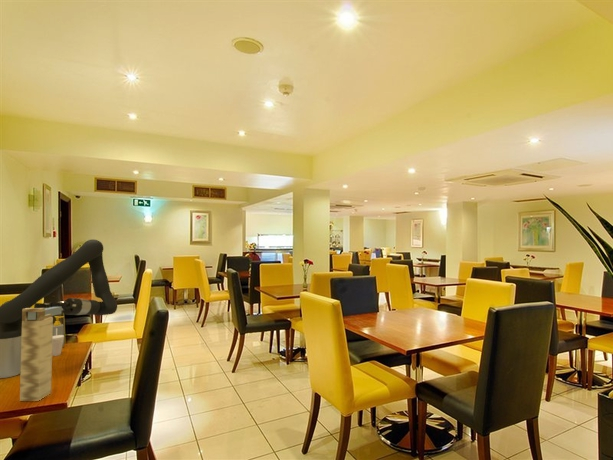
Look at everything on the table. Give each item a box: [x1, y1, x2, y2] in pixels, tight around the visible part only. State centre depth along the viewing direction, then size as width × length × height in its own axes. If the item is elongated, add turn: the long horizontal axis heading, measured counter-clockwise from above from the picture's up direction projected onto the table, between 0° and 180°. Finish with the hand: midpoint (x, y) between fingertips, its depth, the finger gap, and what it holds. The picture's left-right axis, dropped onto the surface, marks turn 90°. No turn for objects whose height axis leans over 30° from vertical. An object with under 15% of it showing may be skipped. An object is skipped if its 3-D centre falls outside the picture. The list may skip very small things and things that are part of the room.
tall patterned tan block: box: [19, 307, 54, 402], centre depth 132 cm, size 7×6×35 cm
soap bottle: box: [52, 315, 65, 349], centre depth 191 cm, size 7×7×18 cm
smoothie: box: [52, 328, 65, 357], centre depth 180 cm, size 6×6×14 cm
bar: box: [27, 307, 63, 320], centre depth 136 cm, size 3×14×3 cm, turn 2°
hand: (42, 305), depth 144 cm, fingers open, 8 cm apart
